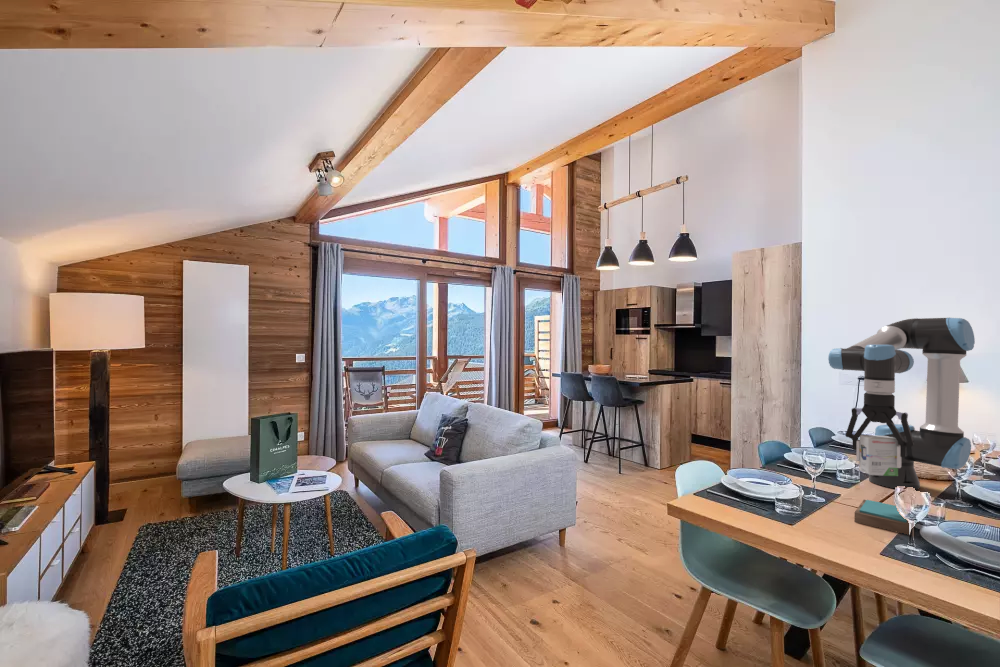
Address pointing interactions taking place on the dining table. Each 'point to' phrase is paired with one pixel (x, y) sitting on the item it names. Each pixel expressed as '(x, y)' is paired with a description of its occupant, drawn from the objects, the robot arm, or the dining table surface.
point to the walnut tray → (881, 516)
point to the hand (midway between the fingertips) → (878, 463)
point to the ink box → (878, 455)
